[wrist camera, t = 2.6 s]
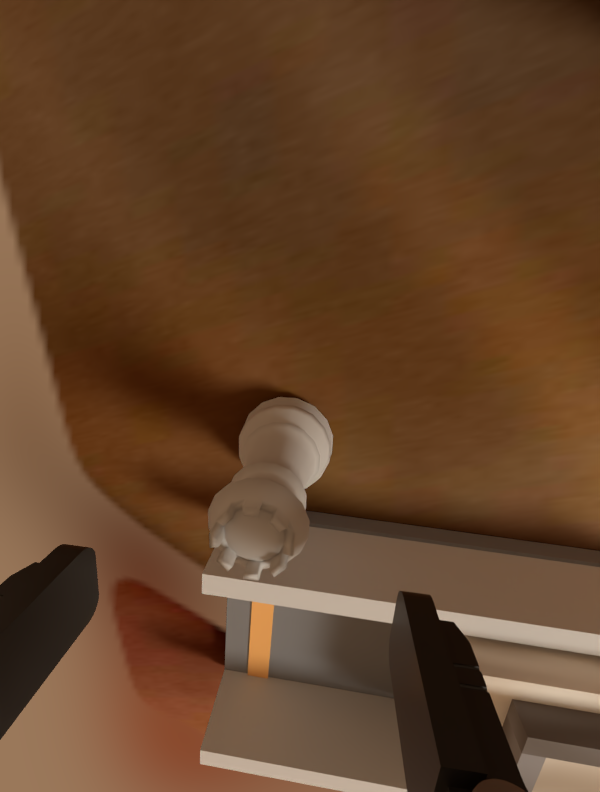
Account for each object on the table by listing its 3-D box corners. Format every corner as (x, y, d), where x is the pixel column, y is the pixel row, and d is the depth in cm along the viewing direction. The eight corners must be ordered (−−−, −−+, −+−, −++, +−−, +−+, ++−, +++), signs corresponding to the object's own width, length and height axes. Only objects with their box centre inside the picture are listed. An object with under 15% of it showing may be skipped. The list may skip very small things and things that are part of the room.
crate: (442, 572, 18) (491, 710, 12) (660, 603, 17) (824, 768, 11) (410, 702, 21) (437, 869, 15) (598, 735, 20) (705, 924, 14)
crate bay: (235, 501, 20) (182, 611, 13) (678, 561, 18) (875, 723, 11) (228, 667, 23) (183, 821, 17) (598, 731, 22) (713, 930, 15)
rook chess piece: (236, 464, 19) (167, 583, 12) (253, 383, 18) (188, 457, 10) (320, 487, 19) (307, 623, 11) (344, 407, 18) (347, 500, 10)
